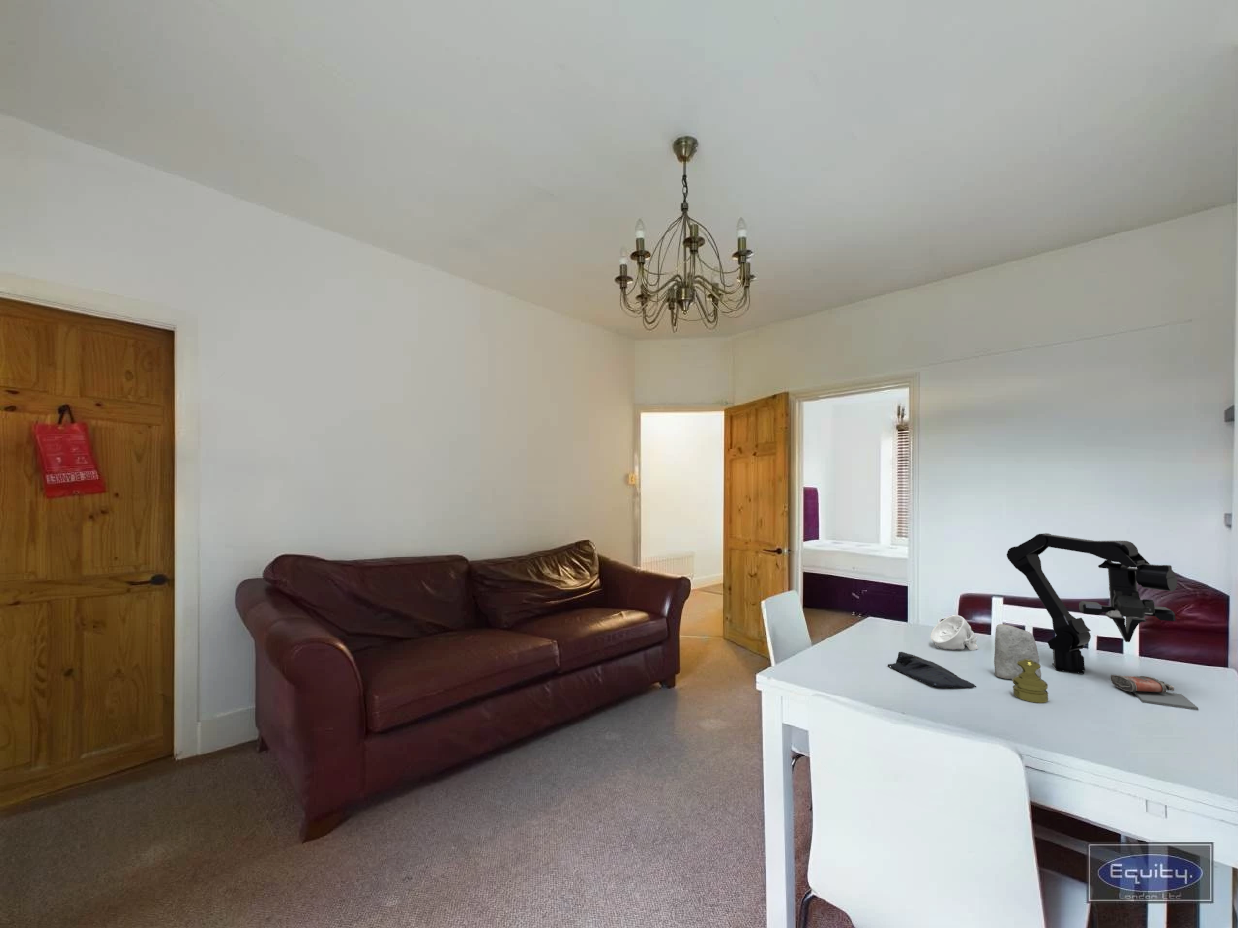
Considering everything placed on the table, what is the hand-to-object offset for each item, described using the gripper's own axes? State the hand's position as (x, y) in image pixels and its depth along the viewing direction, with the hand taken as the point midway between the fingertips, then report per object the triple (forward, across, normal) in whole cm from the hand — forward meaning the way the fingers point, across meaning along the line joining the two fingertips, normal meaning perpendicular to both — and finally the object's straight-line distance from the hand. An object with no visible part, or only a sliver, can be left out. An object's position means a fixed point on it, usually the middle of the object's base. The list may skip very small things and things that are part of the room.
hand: (1127, 641), depth 144 cm
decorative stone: (+12, -26, -8) cm, 30 cm away
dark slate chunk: (+13, -48, -18) cm, 53 cm away
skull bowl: (+12, -40, +18) cm, 46 cm away
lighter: (+10, -4, -7) cm, 13 cm away
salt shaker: (+12, -25, -24) cm, 37 cm away
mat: (+12, +4, -9) cm, 16 cm away
